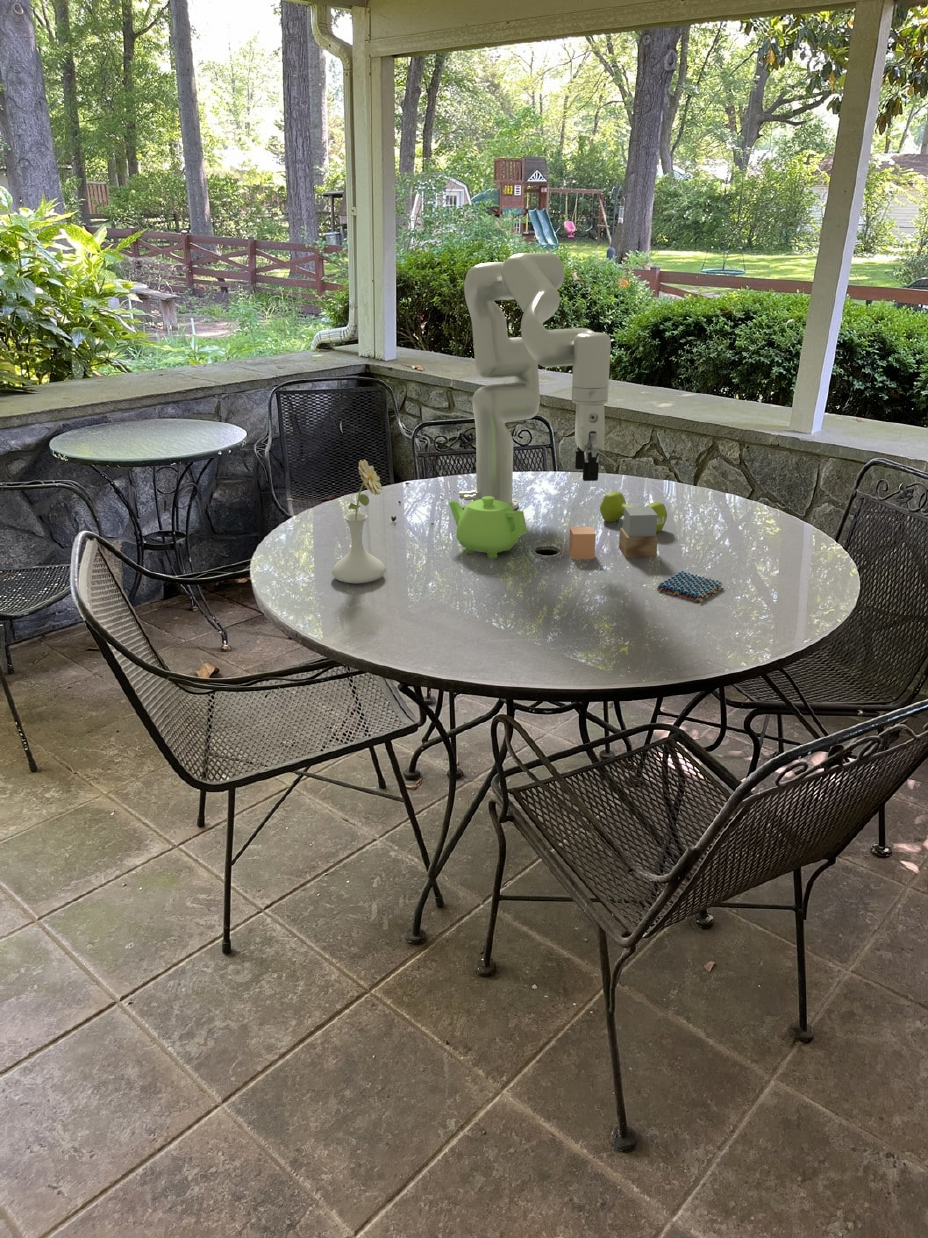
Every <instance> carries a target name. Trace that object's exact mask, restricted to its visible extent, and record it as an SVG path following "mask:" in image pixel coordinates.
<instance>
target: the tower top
mask: <svg viewBox="0 0 928 1238" xmlns="http://www.w3.org/2000/svg"><path fill="white" fill-rule="evenodd" d="M622 522H623V523H622V528H623V529H624V531H625V532H626V534H627V535H628V536H629V537H649V536H656V535H657V533H656V526H657V514H656V513H655V511H654V510H653V509H652V508H651V507H646V506H636V507H624V516H623V521H622Z"/></svg>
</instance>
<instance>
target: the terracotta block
mask: <svg viewBox="0 0 928 1238" xmlns="http://www.w3.org/2000/svg"><path fill="white" fill-rule="evenodd" d="M568 536H569V539H568V541H569V542H568V553H569V555H570V558H571V560H595V555H596V554H595V551H596V538H597V537H596V536H597V533H596V531H595V530H594V527H593V526H569V535H568Z"/></svg>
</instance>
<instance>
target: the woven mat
mask: <svg viewBox="0 0 928 1238" xmlns="http://www.w3.org/2000/svg"><path fill="white" fill-rule="evenodd" d="M722 587H723V582H721V581H719V580H717V579H716V580H715V579H712V578H709V579H708V578H706V577H705V576H700V575H698V574H692V573H691V572H688V573H687V572H684V570H681V571H680V572H677V573H675V574H672V576H671V577H669V578H667V579H665V580H663V581H662V582H660V583H659V585H657V587H656V589H657V591H660V592H662V593H667V594H670V595H674V596H676V597H677V596H678V597H680V598H684V599H687V600H692V601H694V602H697V603H702V602H703V601H705V598H706V599H708V598H709V597H710V595H708V594H712V595H713V593H714V595H715V594H717V592H718V591H719V590H720V591H721V590H722V589H721V588H722ZM714 595H713V596H714ZM708 596H709V597H708Z"/></svg>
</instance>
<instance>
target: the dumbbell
mask: <svg viewBox="0 0 928 1238" xmlns="http://www.w3.org/2000/svg"><path fill="white" fill-rule="evenodd" d="M600 503H601V504H600V507H599V512H600V514H601V517H602V519H603V520H604V521H605V522H608V523H613V522H615V521H619V520H620V519H622V517H624V507H637V506H635V505H631V504H627V502H626V500H625V497H624V494H622V493H621V492H619V491H616V490H615V491H611V492H607V493H606V494H605V495H604V497H603V498H602V501H601V502H600ZM645 507H651V508H652V509H653V510H654V511H655V513H656V514H657V526H656V534H657V533H660V532H661V531H662V530H663V528H664V527H665V524H666V521H667V518H668V512H667V508H666V506H665V504H664V503H663V502H659V501H655V502H650V503H648V504H646V505H645Z"/></svg>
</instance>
